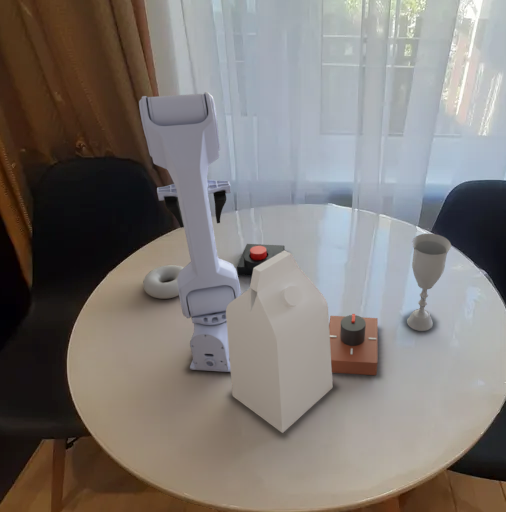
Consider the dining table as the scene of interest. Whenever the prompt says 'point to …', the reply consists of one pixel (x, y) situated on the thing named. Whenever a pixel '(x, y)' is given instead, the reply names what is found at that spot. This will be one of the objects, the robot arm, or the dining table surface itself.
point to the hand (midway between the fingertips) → (200, 222)
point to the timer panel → (354, 349)
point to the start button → (258, 253)
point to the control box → (248, 264)
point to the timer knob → (352, 330)
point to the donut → (160, 275)
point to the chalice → (427, 273)
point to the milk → (279, 343)
